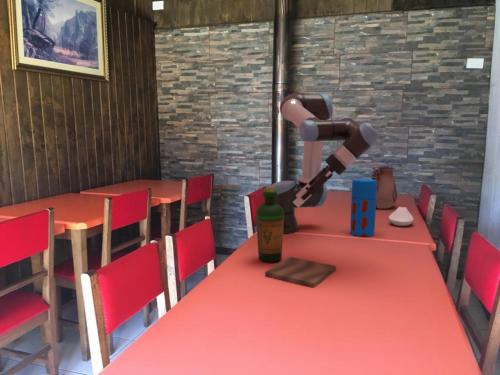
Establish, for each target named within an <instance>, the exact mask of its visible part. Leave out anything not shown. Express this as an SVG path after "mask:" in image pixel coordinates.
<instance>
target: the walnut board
mask: <svg viewBox="0 0 500 375" xmlns="http://www.w3.org/2000/svg"><path fill="white" fill-rule="evenodd" d="M336 269H337V266H336V265H333V264H328V263H323V262H319V261H313V260H309V259H303V258H300V257H299V258H298V257H293V256H289V257H288V258H287V257H286V259H284V260H282V261H281V262H279V263H277V264H276V265H273V266H272V267H271V268H269V269H267V270H265V271H264V276H265V277H266V278H267V277H268V278H273V279H276V280H281V281H284V282H290V283H292V284H297V285H301V286H304V287H305V286H306V287H309V288H315V287H317V286H318V285H319V284H320V283H322V282H323V281H324V280H325V279H327V278H328V277H329V276H331V275H332V274H333V273H334V272H336Z"/></svg>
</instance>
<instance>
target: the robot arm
mask: <svg viewBox="0 0 500 375" xmlns="http://www.w3.org/2000/svg"><path fill="white" fill-rule="evenodd" d="M279 111H280V115H281V116H282V117H283V119H285V120H286V121H289V122H291V123H292V124H294V126H296V127H297V128H298V132H299V134H298V135H299V137H300V139H301V141H303V154H302V169H301V170H302V172H301V176H300V177H299V178H298V183H296V182H295V180H281V181H277V182H274V183H272V184H271V186H274V189H275V190H276V191H277V197H276V203H277V204H278V205H280V206H281V207H282V208H283V210H284V227H283V234H292V233H296V232H297V231H298V232H299V224H298V221H297V217H296V213H295V210H296V209H299V208H300V209H301V208H317V207H321V206H323V204H325V203H326V200H327V196H328V190H327V189H328V188H327V185H326V182H327V181H328V180H330V179H331V178H332V176H333V173H336V174H337V175H339V176H341V175H342V174H343V173H344V172H345V171H346V170H347V167H349V168H350V167H351V166H352V164H354V165H355V164H356V161H357V159H359V158H360V157H361V156H363V155H364V154H365V152H367V151H368V150H369V149H370V148H371V147H372V146H374V144H375V143H376V142H377V141H378V140H379V139H380V134H379V132H378V131H377V130H376V129H375V128H374V127H373V126H372V125H371V124H369V122H363V123H362V124H359V123H358V122H357V120H355V119H354V118H352V117H349V116H341V117H340V118H338V119H331V118H332V116H333V113H334V106H333V101H332V98H331V96H330V95H329V94H328V93H325V92H293V93H290V94H288V95H287V96H285V97H284V98H283V99H282V101H281V102H280V105H279ZM337 141H339V142H341V141H343V142H342V143H341V144H340V145H338V146H337V148H335V149H334V151H333V153H331V154H330V155H329V156H327V158H325V160H324V161H325V163H326V166H325V167H323V168H322V157H323V156H322V155H323V154H322V153H323V142H337ZM321 168H322V169H321Z"/></svg>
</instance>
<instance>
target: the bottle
mask: <svg viewBox="0 0 500 375" xmlns="http://www.w3.org/2000/svg"><path fill="white" fill-rule="evenodd" d="M262 197H263V199H264V202H263V203H261V205H259V206H258V207H257V208H256V210H255V220H256V221H255V222H256V235H257V250H258V252H257V253H258V260H260V261H261V262H264V263H269V264H271V263H272V264H273V263H277V262H279V261H281V259H283V258H282V257H283V256H282V254H283V242H284V239H283V238H284V233H283V227H284V210H283V208H282V207H281V206H280V205H278V204H277V203H276V197H277V191H276V190H275V189H274V186H272V185H266V186H265V189H263V192H262Z"/></svg>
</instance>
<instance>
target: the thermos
mask: <svg viewBox="0 0 500 375" xmlns="http://www.w3.org/2000/svg"><path fill="white" fill-rule="evenodd" d="M376 193H377V180H373V179H371V178H353V179H352V183H351V205H350V234H351V235H353V236H357V237H373V236H374V235H375V229H376V226H375V225H376V210H377V208H376Z"/></svg>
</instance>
